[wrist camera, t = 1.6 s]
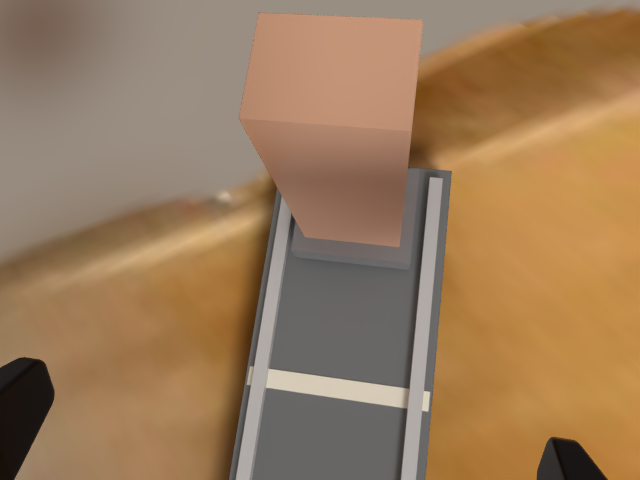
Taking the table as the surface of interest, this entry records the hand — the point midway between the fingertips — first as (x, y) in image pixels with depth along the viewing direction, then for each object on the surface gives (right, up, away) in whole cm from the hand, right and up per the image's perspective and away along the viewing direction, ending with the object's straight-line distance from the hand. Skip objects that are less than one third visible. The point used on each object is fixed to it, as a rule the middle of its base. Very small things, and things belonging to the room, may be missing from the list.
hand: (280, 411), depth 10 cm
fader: (+2, +4, +12) cm, 13 cm away
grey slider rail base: (+1, -4, +12) cm, 13 cm away
